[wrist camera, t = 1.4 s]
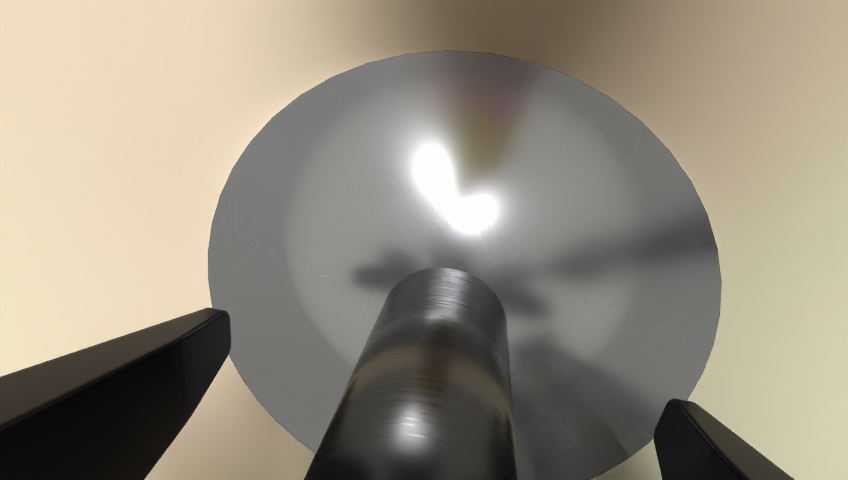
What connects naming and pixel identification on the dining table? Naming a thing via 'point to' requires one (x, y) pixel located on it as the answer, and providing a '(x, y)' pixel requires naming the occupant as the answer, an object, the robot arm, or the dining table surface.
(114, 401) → the robot arm
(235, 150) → the dining table surface
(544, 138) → the lid
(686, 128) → the dining table surface
